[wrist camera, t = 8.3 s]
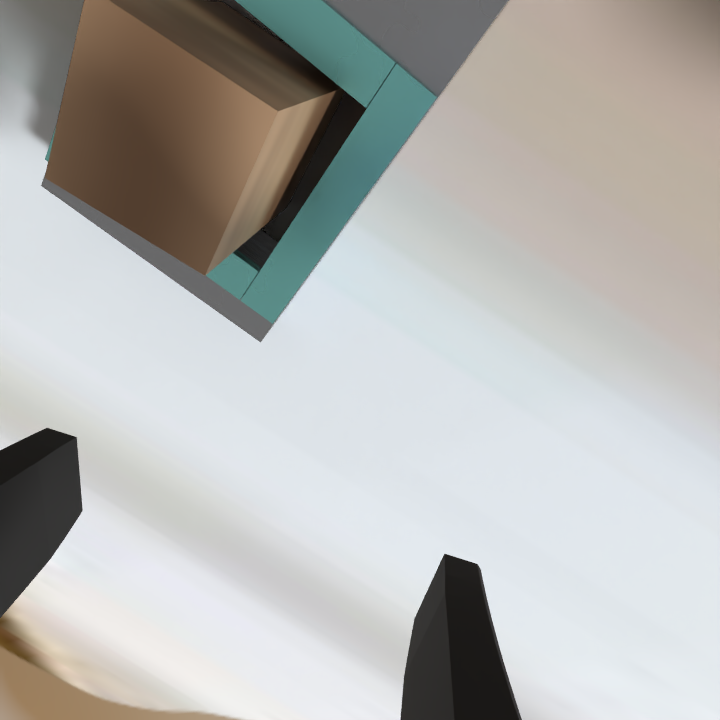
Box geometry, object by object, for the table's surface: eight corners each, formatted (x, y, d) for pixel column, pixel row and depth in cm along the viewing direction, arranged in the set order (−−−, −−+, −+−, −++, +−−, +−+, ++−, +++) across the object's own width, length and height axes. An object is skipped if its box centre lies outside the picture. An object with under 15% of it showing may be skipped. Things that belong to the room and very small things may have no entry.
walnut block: (347, 86, 16) (277, 111, 10) (287, 206, 18) (204, 276, 13) (223, 2, 15) (87, -14, 10) (176, 135, 17) (44, 178, 12)
